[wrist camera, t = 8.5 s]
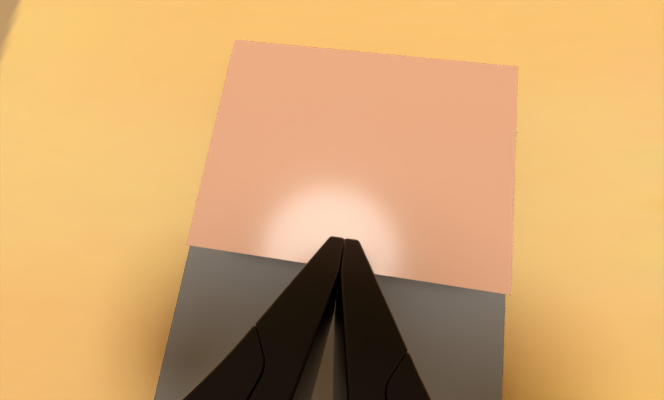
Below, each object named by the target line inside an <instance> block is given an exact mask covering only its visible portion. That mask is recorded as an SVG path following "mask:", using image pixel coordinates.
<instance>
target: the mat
mask: <svg viewBox="0 0 664 400" xmlns="http://www.w3.org/2000/svg"><path fill="white" fill-rule="evenodd" d="M306 264H307V263H301V262H294V261H288V260H281V259H275V258H268V257H262V256H255V255H249V254H242V253H236V252H229V251H223V250H216V249H210V248H203V247H197V246H190V248H189V252H188V257H187V261H186V265H185V269H184V274H183V278H182V282H181V287H180V291H179V295H178V299H177V304H176V308H175V312H174V316H173V321H172V325H171V329H170V334H169V338H168V342H167V346H166V351H165V355H164V359H163V363H162V368H161V372H160V376H159V381H158V385H157V389H156V393H155V398H154V400H182V399H183V398H184V397H185V396H186V395H187V394H188V393H189V392H190V391H191V390H193V389H194V388H195V387H196V386H197V385H198V384H199V383H200V382H201V381H202V380H203V379H204V378H205V377H206V376H207V375H208V374H209V373H210V372H211V371H212V370H213V369H214V368H215V367H216V366H217V365H218V364H219V363H220V362H221V361H222V360H223V359H224V358H225V357H226V356H227V354H228V353H229V352H230V351H231V350H232V349H233V348H234V347H235V346H236V345H237V343H238V342H239V341H240V340H241V339H242V338H243V337H244V336H245V334H246V333H247V332H248V331H249V330H250V329H251V327H252V326H255V323H256V322H257V321H258V319H259V318H260V317H261V316H262V315H263V314H264V313H265V311H266V310H267V309H268V308H269V307H270V306H271V304H272V303H273V302H274V301H275V300H276V299H277V297H278V296H279V295H280V294H281V293H282V292H283V290H284V289H285V288H286V287H287V286H288V285H289V283H290V282H291V281H292V280H293V279H294V278H295V276H296V275H297V274H298V273H299V272H300V271H301V269H302V268H303V267H304V266H305V265H306ZM374 275H375V277H376V279H377V281H378V284H379V286H380V288H381V290H382V293H383V295H384V297H385V299H386V301H387V304H388V306H389V308H390V310H391V313H392V315H393V317H394V319H395V322H396V324H397V326H398V328H399V331H400V333H401V335H402V337H403V339H404V342H405V344H406V346H407V348H408V352H407V353H410V355H411V357H412V359H413V361H414V364H415V366H416V368H417V370H418V373H419V375H420V377H421V379H422V381H423V383H424V385H425V387H426V389H427V391H428V393H429V395H430V398H431V399H432V400H502V376H503V346H504V317H505V294H502V293H495V292H489V291H482V290H476V289H469V288H463V287H456V286H450V285H443V284H437V283H430V282H424V281H418V280H411V279H405V278H398V277H392V276H385V275H379V274H374ZM336 298H337V297H336ZM335 305H336V304H335ZM334 315H335V310H334ZM334 315H333V320H332V324H331V327H330V331H329V335H328V339H327V342H326V346H325V350H324V354H323V357H322V361H321V365H320V369H319V372H318V376H317V380H316V384H315V387H314V391H313V395H312V399H311V400H333V357H334Z"/></svg>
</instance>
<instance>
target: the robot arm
mask: <svg viewBox="0 0 664 400" xmlns="http://www.w3.org/2000/svg"><path fill="white" fill-rule="evenodd" d="M336 297H337V298H336ZM335 304H336V305H335ZM334 310H335V315H334ZM333 315H334V357H333V400H432V399H431V398H430V395H429V393H428V391H427V389H426V387H425V385H424V383H423V381H422V379H421V377H420V375H419V373H418V370H417V368H416V366H415V364H414V361H413V359H412V357H411V355H410V353H407V352H408V348H407V346H406V344H405V342H404V339H403V337H402V335H401V333H400V331H399V328H398V326H397V324H396V322H395V319H394V317H393V315H392V313H391V310H390V308H389V306H388V304H387V301H386V299H385V297H384V295H383V293H382V290H381V288H380V286H379V284H378V281H377V279H376V277H375V275H374V272H373V270H372V268H371V266H370V263H369V261H368V259H367V257H366V255H365V252H364V250H363V248H362V246H361V243H360V242H359V240H356V239H349V238H346V239H345V240H344V238H342V237H335V236H330V237H329V238H328V239H327V240H326V242H325V243H324V244H323V245H322V246H321V247H320V249H319V250H318V251H317V252H316V253H315V254H314V256H313V257H312V258H311V259H310V260H309V261H308V262H307V264H306V265H305V266H304V267H303V268H302V269H301V271H300V272H299V273H298V274H297V275H296V276H295V278H294V279H293V280H292V281H291V282H290V283H289V285H288V286H287V287H286V288H285V289H284V290H283V292H282V293H281V294H280V295H279V296H278V297H277V299H276V300H275V301H274V302H273V303H272V304H271V306H270V307H269V308H268V309H267V310H266V311H265V313H264V314H263V315H262V316H261V317H260V318H259V319H258V321H257V322H256V323H255V326H252V327H251V329H250V330H249V331H248V332H247V333H246V334H245V336H244V337H243V338H242V339H241V340H240V341H239V342H238V343H237V345H236V346H235V347H234V348H233V349H232V350H231V351H230V352H229V353H228V354H227V356H226V357H225V358H224V359H223V360H222V361H221V362H220V363H219V364H218V365H217V366H216V367H215V368H214V369H213V370H212V371H211V372H210V373H209V374H208V375H207V376H206V377H205V378H204V379H203V380H202V381H201V382H200V383H199V384H198V385H197V386H196V387H195V388H194V389H193V390H191V391H190V392H189V393H188V394H187V395H186V396H185V397H184V398H183V399H182V400H311V399H312V395H313V391H314V387H315V384H316V380H317V376H318V372H319V369H320V365H321V361H322V357H323V354H324V350H325V346H326V342H327V339H328V335H329V331H330V327H331V324H332V320H333Z"/></svg>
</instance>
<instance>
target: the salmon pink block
mask: <svg viewBox="0 0 664 400" xmlns="http://www.w3.org/2000/svg"><path fill="white" fill-rule="evenodd" d="M517 85H518V66H507V65H497V64H486V63H476V62H465V61H454V60H444V59H433V58H423V57H412V56H402V55H391V54H381V53H370V52H360V51H349V50H338V49H328V48H317V47H307V46H296V45H286V44H275V43H265V42H254V41H244V40H235V41H234V46H233V50H232V54H231V58H230V62H229V67H228V71H227V75H226V79H225V84H224V88H223V92H222V96H221V100H220V105H219V109H218V113H217V117H216V122H215V126H214V130H213V134H212V139H211V143H210V147H209V151H208V155H207V160H206V164H205V168H204V172H203V177H202V181H201V185H200V189H199V193H198V198H197V202H196V206H195V210H194V215H193V219H192V223H191V227H190V232H189V236H188V240H187V244H186V245H190V246H197V247H203V248H210V249H216V250H223V251H229V252H236V253H242V254H249V255H255V256H262V257H268V258H275V259H281V260H288V261H294V262H301V263H307V262H308V261H309V260H310V259H311V258H312V257H313V256H314V254H315V253H316V252H317V251H318V250H319V249H320V247H321V246H322V245H323V244H324V243H325V242H326V240H327V239H328V238H329V237H330V236H335V237H342V238H344V240H345V239H346V238H349V239H356V240H359V242H360V243H361V246H362V248H363V250H364V252H365V255H366V257H367V259H368V261H369V263H370V266H371V268H372V270H373V272H374V274H379V275H385V276H392V277H398V278H405V279H411V280H418V281H424V282H430V283H437V284H443V285H450V286H456V287H463V288H469V289H476V290H482V291H489V292H495V293H502V294H508V295H511V286H512V253H513V219H514V186H515V152H516V119H517Z"/></svg>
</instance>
